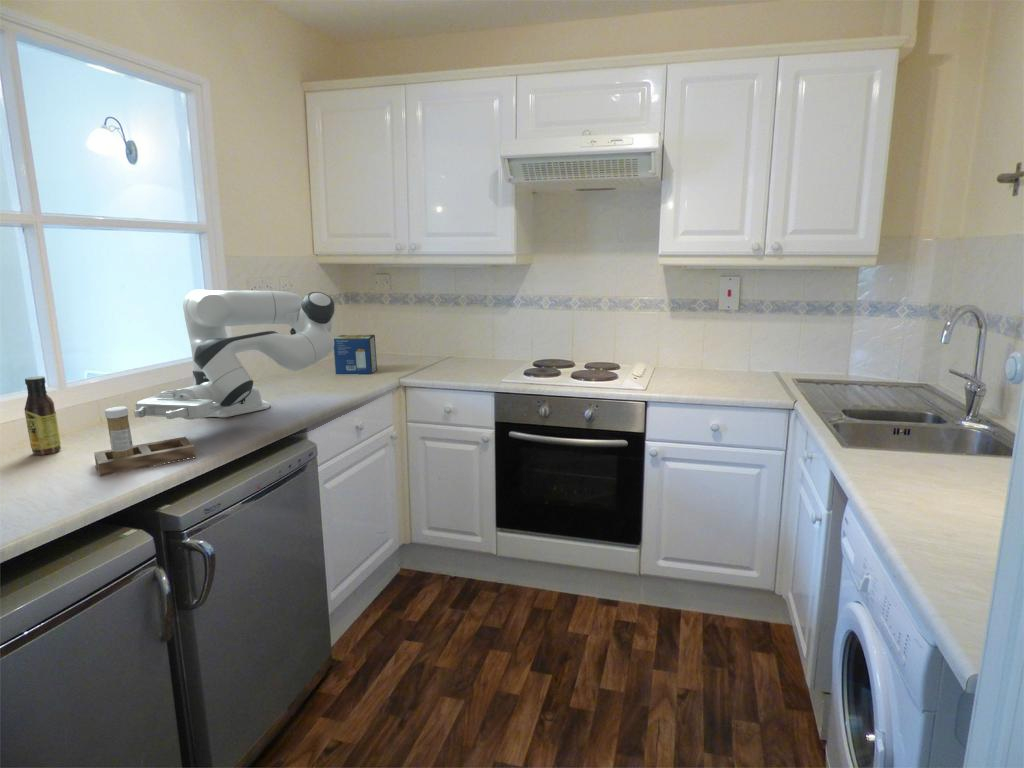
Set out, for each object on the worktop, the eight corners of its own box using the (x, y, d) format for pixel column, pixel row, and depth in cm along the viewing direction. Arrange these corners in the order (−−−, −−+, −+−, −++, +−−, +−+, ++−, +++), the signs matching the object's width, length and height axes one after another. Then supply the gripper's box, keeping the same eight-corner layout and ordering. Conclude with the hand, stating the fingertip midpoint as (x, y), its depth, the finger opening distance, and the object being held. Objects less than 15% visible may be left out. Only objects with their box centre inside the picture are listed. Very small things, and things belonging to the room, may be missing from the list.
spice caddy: (186, 447, 163) (185, 436, 162) (195, 457, 154) (194, 446, 153) (95, 464, 151) (93, 452, 150) (100, 476, 142) (98, 463, 142)
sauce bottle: (30, 452, 161) (16, 377, 157) (59, 447, 165) (46, 373, 161) (34, 458, 156) (20, 380, 152) (64, 452, 161) (51, 377, 157)
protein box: (342, 370, 270) (339, 334, 267) (377, 369, 270) (375, 334, 266) (334, 374, 260) (332, 338, 257) (371, 374, 259) (368, 337, 256)
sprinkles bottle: (119, 459, 152) (110, 406, 149) (139, 458, 152) (130, 405, 149) (109, 465, 147) (100, 411, 144) (129, 464, 148) (121, 410, 145)
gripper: (225, 415, 169) (189, 428, 156) (161, 412, 174) (121, 425, 161) (222, 392, 168) (186, 404, 155) (158, 390, 173) (117, 401, 159)
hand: (152, 415), depth 158 cm, fingers open, 8 cm apart
